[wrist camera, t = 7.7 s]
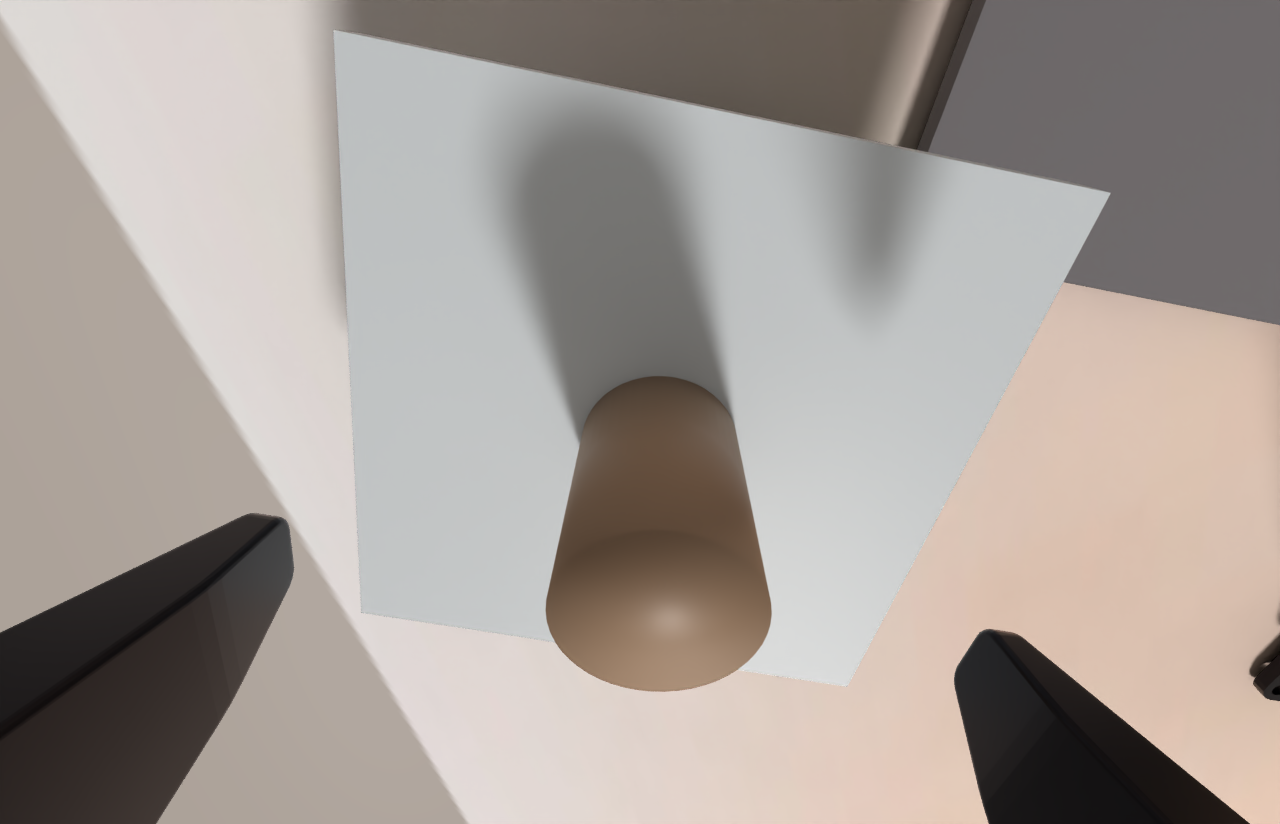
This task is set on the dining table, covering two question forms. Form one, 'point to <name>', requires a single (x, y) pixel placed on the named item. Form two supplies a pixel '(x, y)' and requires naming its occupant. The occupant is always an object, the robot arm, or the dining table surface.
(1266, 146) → the mat
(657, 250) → the lid
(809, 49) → the dining table surface
